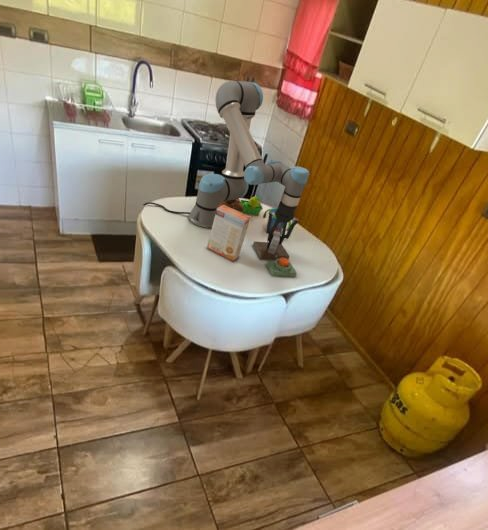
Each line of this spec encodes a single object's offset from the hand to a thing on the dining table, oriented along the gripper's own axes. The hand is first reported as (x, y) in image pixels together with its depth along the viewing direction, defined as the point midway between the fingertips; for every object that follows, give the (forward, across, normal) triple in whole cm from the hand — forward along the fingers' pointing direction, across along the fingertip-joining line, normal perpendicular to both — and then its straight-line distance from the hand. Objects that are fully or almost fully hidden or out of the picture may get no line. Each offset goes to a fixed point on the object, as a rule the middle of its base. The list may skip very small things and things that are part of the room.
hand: (272, 247), depth 176 cm
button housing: (+3, -5, +12) cm, 14 cm away
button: (-1, -5, +12) cm, 13 cm away
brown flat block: (+3, 0, 0) cm, 3 cm away
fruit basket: (+3, +13, -36) cm, 39 cm away
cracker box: (+3, +22, +11) cm, 24 cm away
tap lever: (+1, 0, 0) cm, 1 cm away
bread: (+3, +26, -32) cm, 41 cm away
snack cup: (+3, -1, -24) cm, 24 cm away
